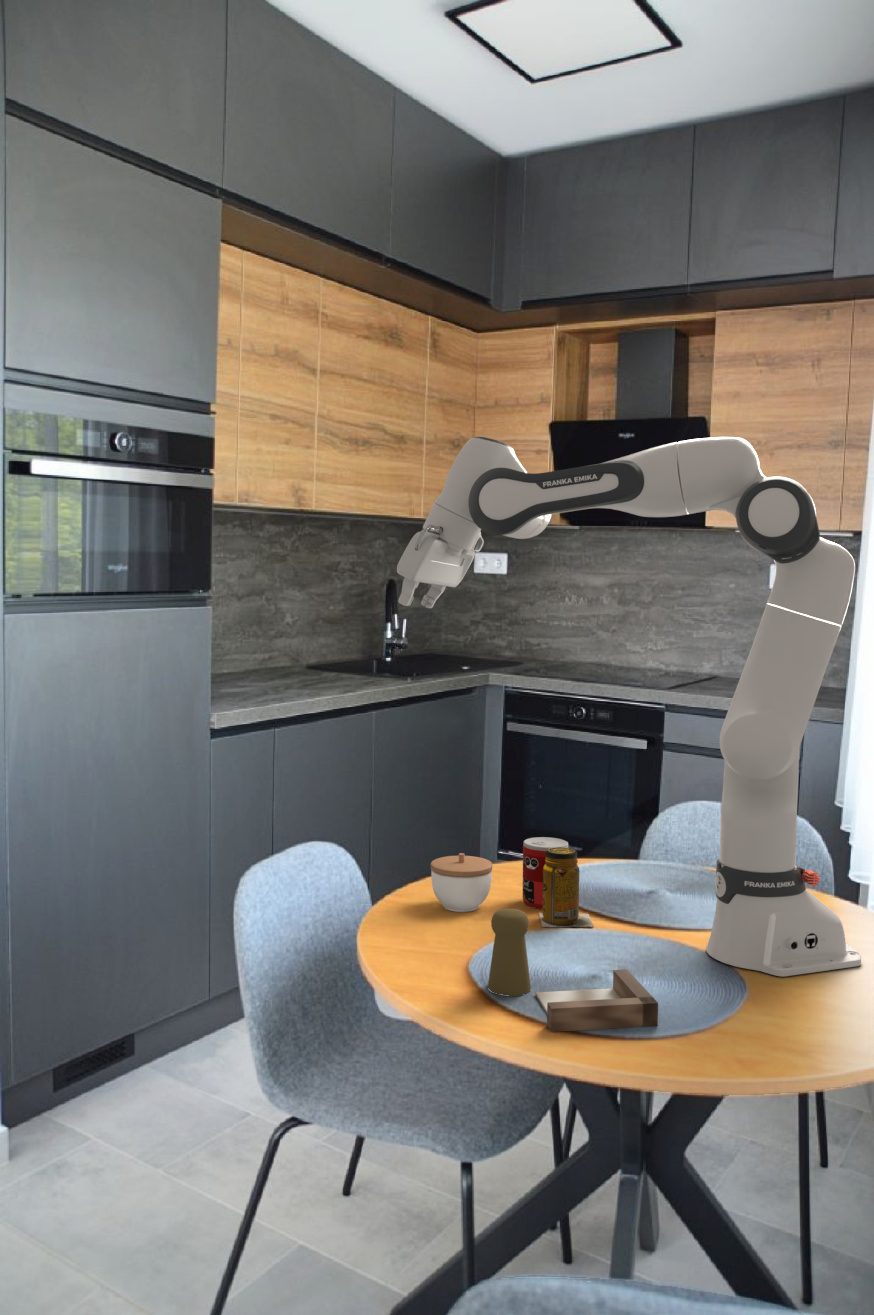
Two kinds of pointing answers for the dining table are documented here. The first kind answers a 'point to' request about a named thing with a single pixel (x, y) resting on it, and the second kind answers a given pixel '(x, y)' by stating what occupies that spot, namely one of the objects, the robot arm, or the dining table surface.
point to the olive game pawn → (509, 953)
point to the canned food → (536, 868)
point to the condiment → (562, 890)
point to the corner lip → (601, 1006)
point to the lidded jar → (461, 881)
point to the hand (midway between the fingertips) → (414, 605)
